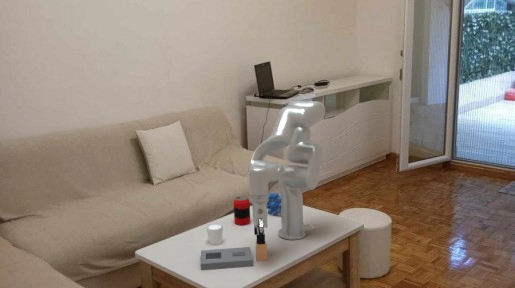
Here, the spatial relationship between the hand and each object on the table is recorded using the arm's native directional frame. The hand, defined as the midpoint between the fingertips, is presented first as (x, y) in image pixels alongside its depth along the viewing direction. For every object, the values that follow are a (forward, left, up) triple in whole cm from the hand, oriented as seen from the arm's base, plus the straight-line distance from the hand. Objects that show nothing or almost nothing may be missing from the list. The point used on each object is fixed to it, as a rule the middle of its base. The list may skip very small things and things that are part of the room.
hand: (259, 239), depth 196 cm
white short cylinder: (+17, -20, -9) cm, 28 cm away
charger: (-1, -1, -9) cm, 9 cm away
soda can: (+4, -40, -9) cm, 41 cm away
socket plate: (+13, -1, -9) cm, 16 cm away
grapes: (-13, -47, -9) cm, 49 cm away
